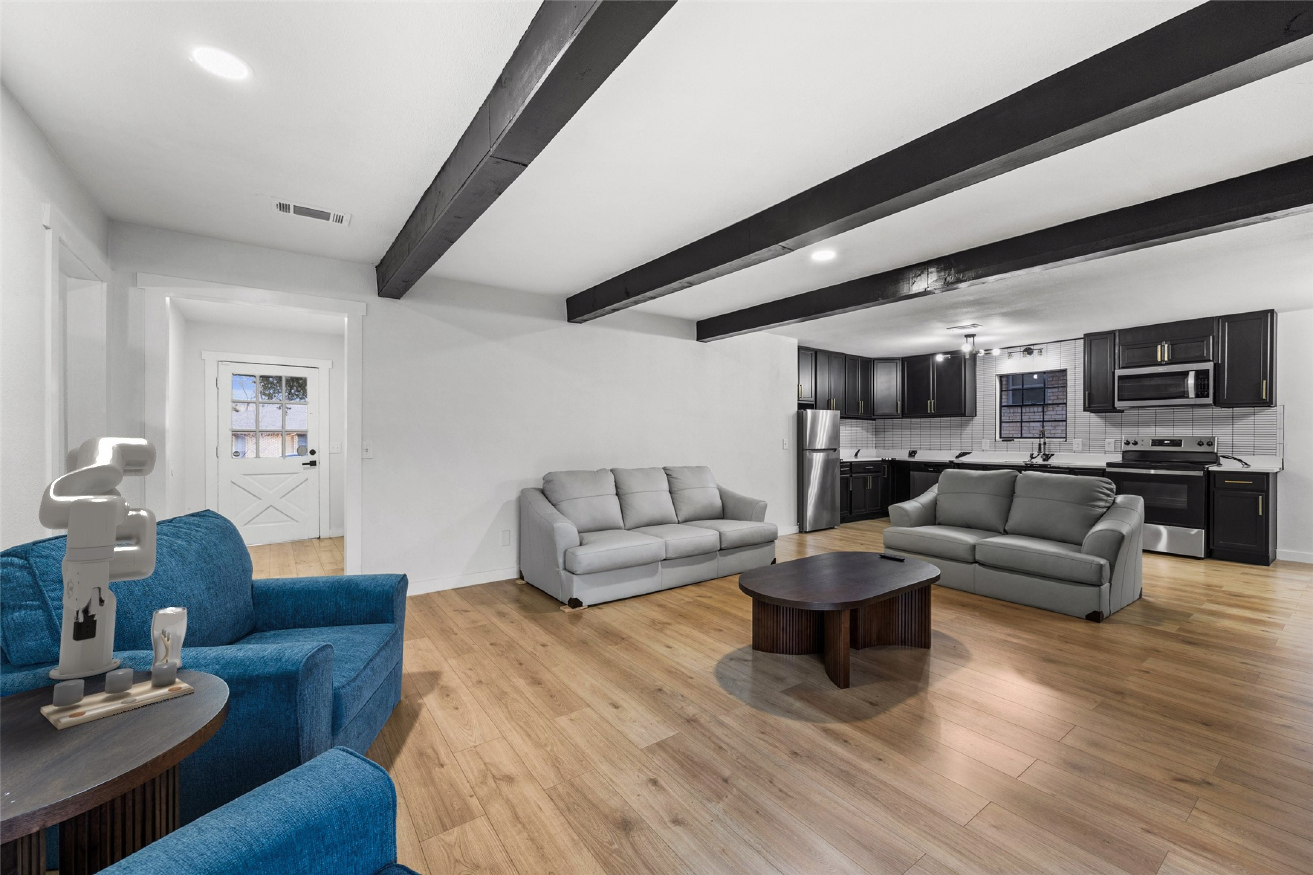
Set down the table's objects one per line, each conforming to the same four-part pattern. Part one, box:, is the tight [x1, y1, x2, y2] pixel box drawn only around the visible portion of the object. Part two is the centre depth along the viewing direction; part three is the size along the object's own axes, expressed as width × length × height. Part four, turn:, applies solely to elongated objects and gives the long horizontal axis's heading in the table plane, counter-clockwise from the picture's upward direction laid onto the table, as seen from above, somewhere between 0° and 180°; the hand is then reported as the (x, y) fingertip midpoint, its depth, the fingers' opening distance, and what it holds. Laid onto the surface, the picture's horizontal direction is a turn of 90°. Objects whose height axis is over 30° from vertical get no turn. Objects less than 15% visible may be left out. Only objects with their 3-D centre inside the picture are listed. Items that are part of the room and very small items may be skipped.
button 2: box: [151, 662, 178, 686], centre depth 131 cm, size 4×4×4 cm
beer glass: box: [150, 606, 188, 673], centre depth 144 cm, size 7×7×15 cm
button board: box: [40, 677, 195, 731], centre depth 123 cm, size 14×22×2 cm, turn 148°
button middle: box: [104, 667, 134, 694], centre depth 124 cm, size 4×4×4 cm
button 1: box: [52, 678, 85, 707], centre depth 118 cm, size 4×4×4 cm
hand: (84, 638), depth 120 cm, fingers closed
